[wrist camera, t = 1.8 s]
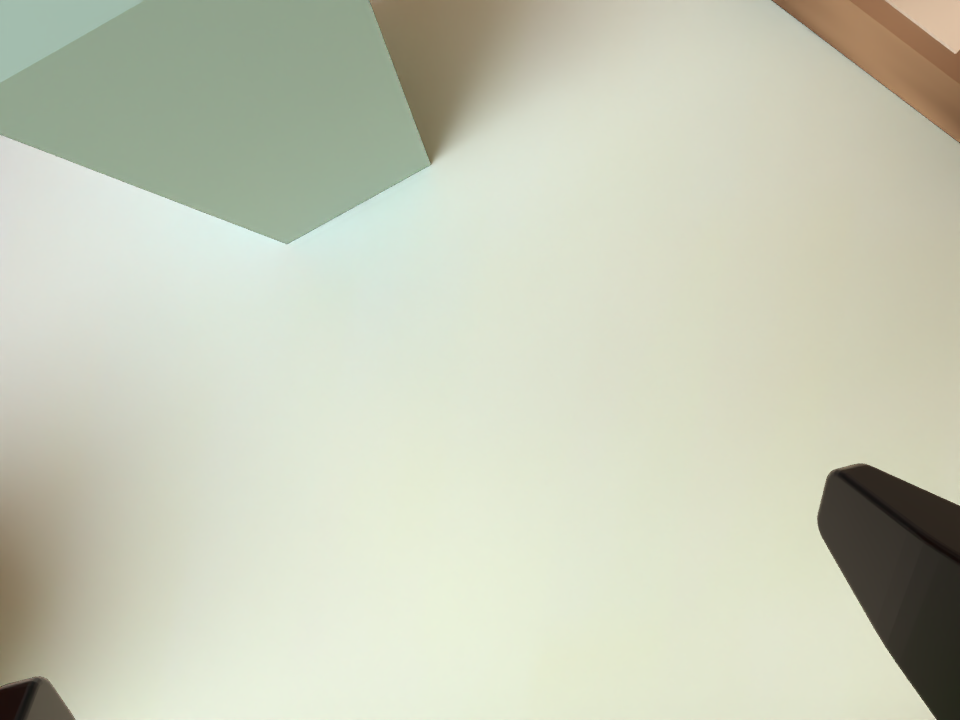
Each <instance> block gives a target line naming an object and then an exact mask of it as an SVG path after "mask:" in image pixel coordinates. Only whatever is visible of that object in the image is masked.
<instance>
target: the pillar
mask: <svg viewBox="0 0 960 720" xmlns="http://www.w3.org/2000/svg"><path fill="white" fill-rule="evenodd" d="M0 135H3V136H5V137H8V138H11V139H13V140H16V141H19V142H21V143H24V144H26V145H29V146H32V147H34V148H37V149H39V150H42V151H45V152H47V153H50V154H53V155H55V156H58V157H60V158H63V159H66V160H68V161H71V162H73V163H76V164H79V165H81V166H84V167H86V168H89V169H92V170H94V171H97V172H100V173H102V174H105V175H107V176H110V177H113V178H115V179H118V180H120V181H123V182H126V183H128V184H131V185H134V186H136V187H139V188H141V189H144V190H147V191H149V192H152V193H154V194H157V195H160V196H162V197H165V198H167V199H170V200H173V201H175V202H178V203H181V204H183V205H186V206H188V207H191V208H194V209H196V210H199V211H201V212H204V213H207V214H209V215H212V216H215V217H217V218H220V219H222V220H225V221H228V222H230V223H233V224H235V225H238V226H241V227H243V228H246V229H248V230H251V231H254V232H256V233H259V234H262V235H264V236H267V237H269V238H272V239H275V240H277V241H280V242H282V243H285V244H288V243H290V242H292V241H294V240H296V239H297V238H299V237H301V236H303V235H305V234H306V233H308V232H310V231H312V230H314V229H316V228H317V227H319V226H321V225H323V224H325V223H326V222H328V221H330V220H332V219H334V218H335V217H337V216H339V215H341V214H343V213H344V212H346V211H348V210H350V209H352V208H354V207H355V206H357V205H359V204H361V203H363V202H364V201H366V200H368V199H370V198H372V197H373V196H375V195H377V194H379V193H381V192H382V191H384V190H386V189H388V188H390V187H392V186H393V185H395V184H397V183H399V182H401V181H402V180H404V179H406V178H408V177H410V176H411V175H413V174H415V173H417V172H419V171H420V170H422V169H424V168H426V167H428V166H430V165H431V164H430V161H429V158H428V156H427V153H426V150H425V148H424V145H423V142H422V140H421V137H420V134H419V132H418V129H417V126H416V124H415V121H414V118H413V116H412V113H411V110H410V108H409V105H408V102H407V100H406V97H405V95H404V92H403V89H402V87H401V84H400V81H399V79H398V76H397V73H396V71H395V68H394V65H393V63H392V60H391V57H390V55H389V52H388V49H387V47H386V44H385V41H384V39H383V36H382V33H381V31H380V28H379V25H378V23H377V20H376V17H375V15H374V12H373V9H372V7H371V4H370V1H369V0H0Z"/></svg>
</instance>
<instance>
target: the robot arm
mask: <svg viewBox="0 0 960 720" xmlns="http://www.w3.org/2000/svg"><path fill="white" fill-rule="evenodd" d="M817 521H818V528H819V531H820V534H821V536H822V538H823V540H824V542H825V543H826V545H827V547H828V549H829V550H830V552H831V554H832V556H833V557H834V559H835V561H836V563H837V564H838V566H839V568H840V570H841V571H842V573H843V575H844V577H845V578H846V580H847V582H848V584H849V585H850V587H851V589H852V591H853V592H854V594H855V596H856V598H857V599H858V601H859V603H860V605H861V606H862V608H863V610H864V612H865V613H866V615H867V617H868V618H869V620H870V622H871V624H872V625H873V627H874V629H875V631H876V632H877V634H878V635H879V637H880V639H881V640H882V642H883V644H884V645H885V647H886V648H887V650H888V651H889V653H890V654H891V656H892V657H893V659H894V660H895V662H896V663H897V664H898V666H899V667H900V669H901V670H902V672H903V673H904V674H905V676H906V677H907V679H908V680H909V681H910V683H911V684H912V686H913V687H914V688H915V690H916V691H917V693H918V694H919V695H920V697H921V698H922V700H923V701H924V703H925V704H926V705H927V707H928V708H929V710H930V711H931V712H932V714H933V715H934V717H935V718H936V719H937V720H960V506H959V505H957V504H955V503H952V502H950V501H948V500H946V499H943V498H941V497H939V496H937V495H935V494H932V493H930V492H928V491H926V490H923V489H921V488H919V487H917V486H915V485H912V484H910V483H908V482H906V481H903V480H901V479H899V478H897V477H895V476H892V475H890V474H888V473H886V472H883V471H881V470H879V469H877V468H875V467H872V466H870V465H867V464H854V465H850V466H846V467H842V468H838V469H835V470H833V471H831V472H830V473H829V475H828V476H827V479H826V483H825V487H824V491H823V495H822V499H821V503H820V507H819V511H818V516H817ZM0 720H75V718H74V716H73V715H72V713H71V712H70V710H69V709H68V707H67V706H66V705H65V703H64V702H63V700H62V699H61V697H60V696H59V694H58V693H57V691H56V690H55V688H54V687H53V686H52V684H51V683H50V682H49V681H48V679H46V678H44V677H41V676H39V677H32V678H29V679H25V680H21V681H17V682H13V683H9V684H6V685H4V686H1V687H0Z"/></svg>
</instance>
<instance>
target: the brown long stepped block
mask: <svg viewBox="0 0 960 720" xmlns="http://www.w3.org/2000/svg"><path fill="white" fill-rule="evenodd" d="M772 1H773V2H775V3H776V4H777V5H779V6H780V7H781V8H783V9H784V10H785V11H787V12H788V13H789V14H791V15H792V16H793V17H794V18H796V19H797V20H798V21H800V22H801V23H802V24H804V25H805V26H806V27H808V28H809V29H810V30H812V31H813V32H814V33H816V34H817V35H818V36H819V37H821V38H822V39H823V40H825V41H826V42H827V43H829V44H830V45H831V46H833V47H834V48H835V49H837V50H838V51H839V52H841V53H842V54H843V55H844V56H846V57H847V58H848V59H850V60H851V61H852V62H854V63H855V64H856V65H858V66H859V67H860V68H862V69H863V70H864V71H866V72H867V73H868V74H869V75H871V76H872V77H873V78H875V79H876V80H877V81H879V82H880V83H881V84H883V85H884V86H885V87H887V88H888V89H889V90H891V91H892V92H893V93H895V94H896V95H897V96H898V97H900V98H901V99H902V100H904V101H905V102H906V103H908V104H909V105H910V106H912V107H913V108H914V109H916V110H917V111H918V112H920V113H921V114H922V115H923V116H925V117H926V118H927V119H929V120H930V121H931V122H933V123H934V124H935V125H937V126H938V127H939V128H941V129H942V130H943V131H945V132H946V133H947V134H948V135H950V136H951V137H952V138H954V139H955V140H956V141H958V142H959V143H960V0H772Z"/></svg>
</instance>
